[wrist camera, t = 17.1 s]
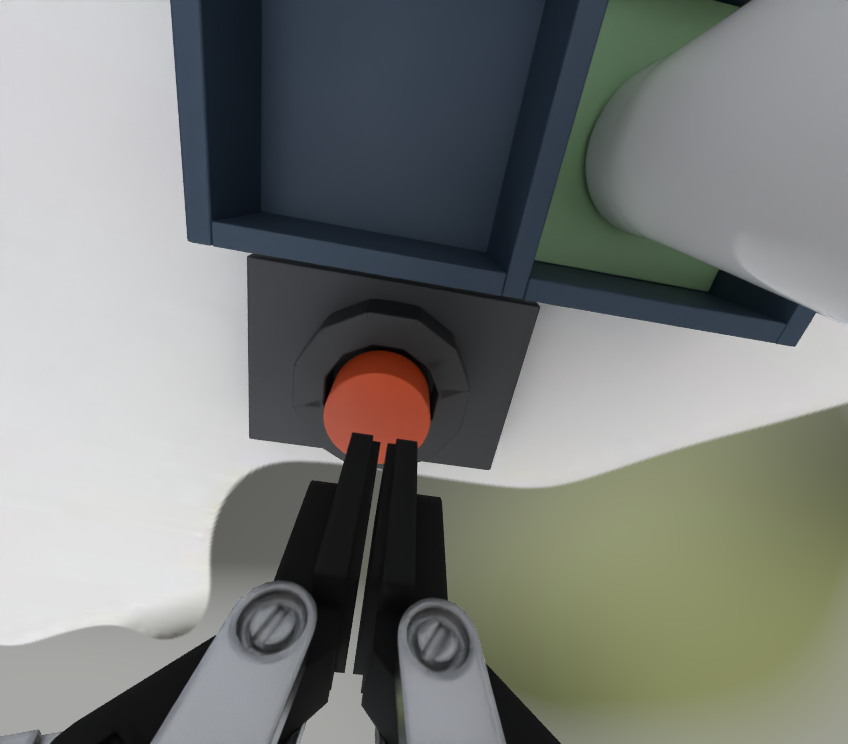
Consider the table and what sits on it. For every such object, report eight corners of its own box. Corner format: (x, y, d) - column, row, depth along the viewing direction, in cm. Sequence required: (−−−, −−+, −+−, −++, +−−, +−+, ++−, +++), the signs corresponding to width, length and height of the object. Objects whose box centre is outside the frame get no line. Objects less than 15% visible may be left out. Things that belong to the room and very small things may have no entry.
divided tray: (846, 15, 13) (1047, -64, 9) (703, 307, 17) (795, 347, 13) (244, -140, 11) (144, -328, 7) (248, 226, 15) (186, 242, 11)
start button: (437, 358, 15) (439, 382, 13) (420, 439, 16) (420, 470, 14) (337, 342, 14) (327, 364, 13) (330, 426, 16) (319, 457, 14)
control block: (529, 294, 17) (555, 321, 14) (484, 448, 20) (497, 498, 17) (262, 248, 16) (224, 264, 13) (261, 418, 19) (231, 465, 16)
